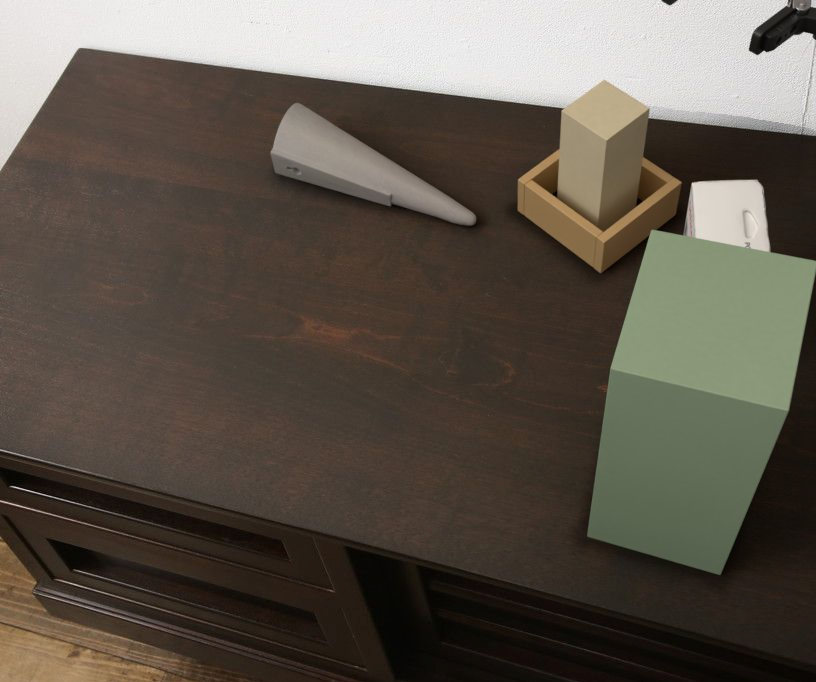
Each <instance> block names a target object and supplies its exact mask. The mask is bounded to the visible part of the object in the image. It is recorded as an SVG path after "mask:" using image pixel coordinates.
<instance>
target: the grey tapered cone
mask: <svg viewBox="0 0 816 682" xmlns="http://www.w3.org/2000/svg"><path fill="white" fill-rule="evenodd" d="M273 141H274V142H273V145H272V148H271V151H270V158H271V163H272V166H273V169H274V172H275V174H277V175H280V176H283V177H287V178H290V179H293V180H298V181H301V182H305V183H308V184H311V185H314V186H319V187H322V188H325V189H328V190H332V191H336V192H339V193H343V194H346V195H349V196H354V197H356V198H359V199H363V200H366V201H370V202H373V203H377V204H379V205H383V206H386V207H392V205H395V206H399V207H402V208H406V209H409V210H411V211H414V212H418V213H421V214H425V215H428V216H432V217H434V218H437V219H441V220H443V221H447V222H449V223H452V224H457V225H460V226H468V227H472V226H474V225H476V223H477V216H476V214H475V213H474V212H473V211H471V210H470V209H469V208H467V207H466V206H463V205H462V204H461V203H459V202H458V201H457V200H455V199H453V198H452V197H451V196H449V195H447V194H445V193H444V192H443V191H441V190H440V189H438V188H436V187H435V186H433V185H432V184H430V183H428V182H427V181H425V180H423V179H422V178H420V177H418V176H417V175H415V174H414V173H412V172H411V171H409V170H407V169H406V168H404V167H402V166H400V165H399V164H397V163H396V162H394V161H393V160H391V159H390V158H388V157H387V156H385V155H383V154H382V153H380V152H378V151H377V150H375V149H373V148H372V147H370V146H368V145H367V144H366V143H364V142H362V141H360V140H359V139H357V138H356V137H354V136H352V134H350V133H348V132H346V131H344V130H343V129H342V128H339V127H338V126H336V125H335V124H334V123H333V122H330V121H329V120H327V119H326V118H324V117H323V116H321V115H320V114H317V113H316V112H315V111H313V110H311V109H310V108H308V107H307V106H305V105H303V104H301V103H300V102H295V103H293V104H292V105H291V106H290V107H289V108H288V109H287V111H286V112H285V114H284V115H283V117H282V119H281V121H280V123H279V125H278V128H277V131H276V134H275V137H274V140H273Z"/></svg>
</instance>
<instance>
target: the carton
mask: <svg viewBox="0 0 816 682" xmlns="http://www.w3.org/2000/svg"><path fill="white" fill-rule="evenodd" d="M650 109H651V108H650V107H649V106H647V105H645V104H644V103H643V102H641V101H639V100H637V99H636V98H635V97H633V96H631V95H630V94H628V93H627V92H625V91H623V90H622V89H621V88H618V87H617V86H615V85H614V84H612V83H610V82H609V81H608V80H606V79H603V80H602V81H600V82H598V83H597V84H596V85H594V86H593V87H591V88H590V89H589V90H588V91H586V92H585V93H584V94H582V95H581V96H579V97H578V98H577V99H575V100H574V101H572V102H571V103H570V104H569V105H567V106H566V107H564V108H563V109H562V110H561V114H560V115H561V117H560V132H559V133H560V134H559V135H560V136H559V149H560V152H559V171H558V190H557V191H556V193H557V194H556V198H557V199H559V200H560V201H561V202H563V203H564V204H566V205H567V206H568V207H570V208H571V209H572V210H574V211H575V212H577V213H578V214H579V215H581V216H582V217H583V218H585V219H586V220H588V221H589V222H590V223H592V224H593V225H595V226H596V227H597V228H599V229H600V230H601V231H603V232H604V231H606V230H607V229H608V228H610V227H611V226H612V225H614V224H615V223H616V222H617V221H619V220H620V219H621V218H623V217H624V216H625V215H626V214H628V213H629V212H630V211H632V210H633V209H634V208H636V207H637V202H638V198H637V195H638V188H639V181H640V174H641V167H642V160H643V157H644V152H645V145H646V139H647V132H648V124H649V117H650V111H651V110H650Z"/></svg>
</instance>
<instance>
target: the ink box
mask: <svg viewBox="0 0 816 682" xmlns="http://www.w3.org/2000/svg"><path fill="white" fill-rule="evenodd" d="M765 198H766V197H765V189H764V186H763V185H762V183H761V182H759V180H758V179H726V180H725V179H724V180H722V179H721V180H703V181H693V182H691V185H690V192H689V198H688V203H687V211H686V217H685V223H684V229H683V236H688V237H694V238H699V239H704V240H709V241H714V242H720V243H725V244H730V245H735V246H741V247H746V248H751V249H756V250H761V251H767V252H771V243H770V238H769V225H768V218H767V211H766V210H767V209H766V199H765Z"/></svg>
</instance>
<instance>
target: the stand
mask: <svg viewBox="0 0 816 682" xmlns="http://www.w3.org/2000/svg"><path fill="white" fill-rule="evenodd" d="M815 278H816V260H813V259H808V258H803V257H797V256H792V255H786V254H781V253H777V252H773V251H772V252H771V251H770V252H767V251H761V250H756V249H751V248H746V247H741V246H735V245H730V244H725V243H720V242H714V241H709V240H704V239H699V238H694V237H688V236H684V234H683V235H682V234H677V233H673V232H667V231H661V230H658V229H657V230H651V233H650V235H649V236H648V240H647V242H646V247H645V249H644V252H643V257H642V260H641V263H640V266H639V270H638V274H637V277H636V280H635V283H634V287H633V290H632V294H631V297H630V301H629V304H628V308H627V311H626V315H625V318H624V321H623V325H622V328H621V330H620V331H621V332H620V335H619V337H618V342H617V344H616V348H615V351H614V354H613V358H612V362H611V365H610V369H609V376H608V377H609V378H608V383H607V390H606V396H605V397H606V399H605V404H604V411H603V418H602V426H601V432H600V433H601V434H600V440H599V447H598V456H597V462H596V471H595V476H594V482H593V483H594V484H593V489H592V490H593V491H592V498H591V505H590V512H589V520H588V527H587V534H586V537H588V538H590V539H594V540H598V541H600V542H605V543H607V544H611V545H615V546H618V547H621V548H625V549H628V550H632V551H636V552H639V553H642V554H645V555H650V556H653V557H656V558H659V559H662V560H666V561H670V562H673V563H677V564H680V565H684V566H687V567H691V568H693V569H697V570H701V571H705V572H707V573H711V574H715V575H717V576H721V575H722V573H723V571H724V568H725V565H726V563H727V561H728V559H729V557H730V553H731V552H732V549H733V547H734V544H735V541H736V539H737V537H738V535H739V533H740V530H741V527H742V525H743V523H744V520H745V518H746V515H747V512H748V510H749V508H750V506H751V503H752V501H753V498H754V496H755V493H756V491H757V489H758V486H759V484H760V481H761V479H762V477H763V474H764V472H765V470H766V467H767V464H768V462H769V460H770V457H771V455H772V453H773V450H774V448H775V446H776V443H777V441H778V439H779V436H780V433H781V431H782V429H783V426H784V424H785V421H786V419H787V416H788V414H789V412H790V407H791V402H792V398H793V392H794V388H795V387H794V386H795V381H796V377H797V372H798V368H799V367H798V366H799V362H800V357H801V350H802V347H803V346H802V345H803V341H804V335H805V330H806V325H807V320H808V315H809V309H810V304H811V300H812V294H813V289H814V283H815V280H816V279H815Z"/></svg>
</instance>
